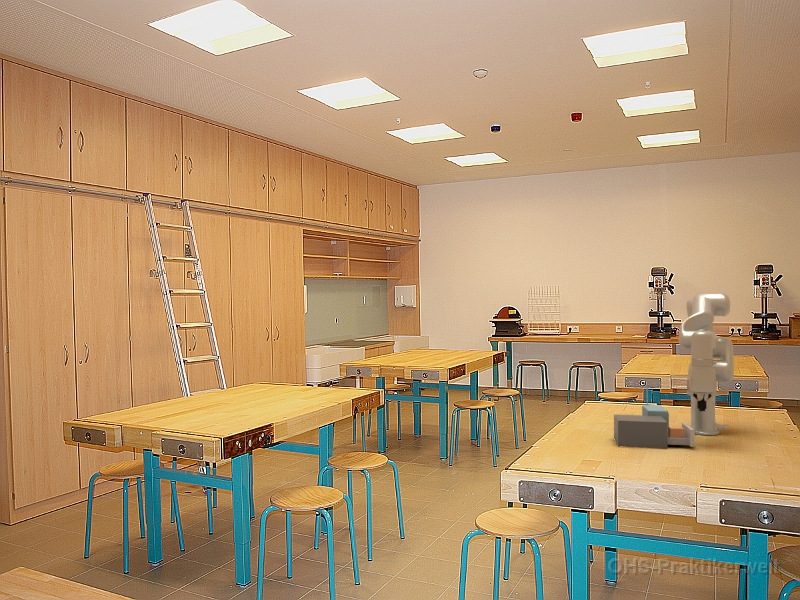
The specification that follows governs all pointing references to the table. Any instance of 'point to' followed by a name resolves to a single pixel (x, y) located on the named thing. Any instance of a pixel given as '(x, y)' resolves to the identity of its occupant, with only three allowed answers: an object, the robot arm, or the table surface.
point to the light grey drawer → (687, 438)
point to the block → (675, 432)
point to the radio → (655, 411)
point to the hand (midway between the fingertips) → (701, 410)
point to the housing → (640, 431)
